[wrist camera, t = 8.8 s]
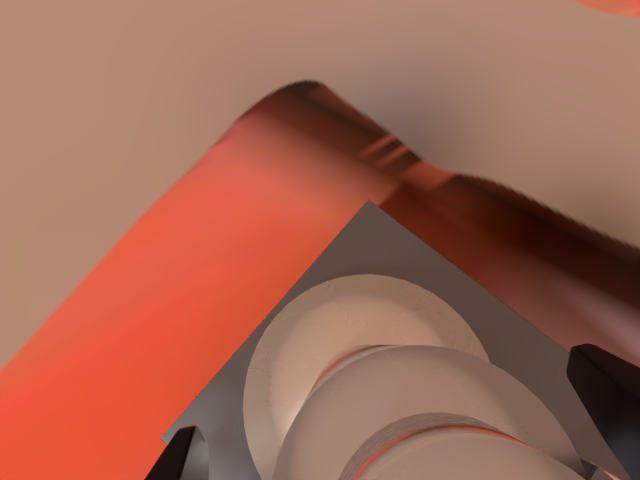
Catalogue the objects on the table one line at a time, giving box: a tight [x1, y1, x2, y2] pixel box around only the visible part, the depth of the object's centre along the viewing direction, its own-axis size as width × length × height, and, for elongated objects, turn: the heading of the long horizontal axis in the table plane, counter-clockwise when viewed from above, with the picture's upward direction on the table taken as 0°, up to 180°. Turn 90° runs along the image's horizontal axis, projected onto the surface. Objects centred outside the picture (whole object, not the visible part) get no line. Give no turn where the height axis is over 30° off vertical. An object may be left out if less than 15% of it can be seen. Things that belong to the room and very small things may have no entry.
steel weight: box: [272, 344, 588, 480], centre depth 10 cm, size 5×5×14 cm
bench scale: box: [161, 200, 632, 480], centre depth 17 cm, size 20×15×6 cm
